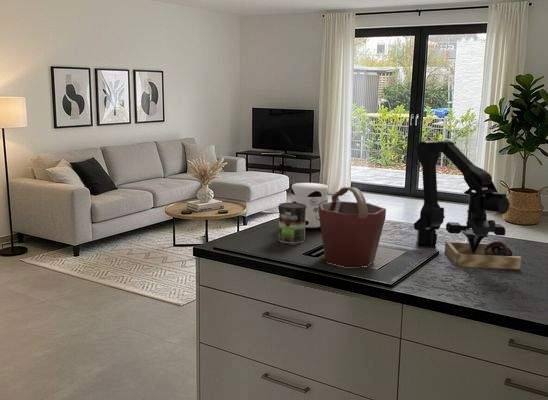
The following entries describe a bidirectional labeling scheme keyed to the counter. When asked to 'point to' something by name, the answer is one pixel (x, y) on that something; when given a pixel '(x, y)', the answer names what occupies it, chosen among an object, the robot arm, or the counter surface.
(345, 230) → the bucket
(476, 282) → the counter surface
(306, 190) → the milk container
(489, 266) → the wooden frame
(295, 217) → the coffee can
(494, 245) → the pottery mug
